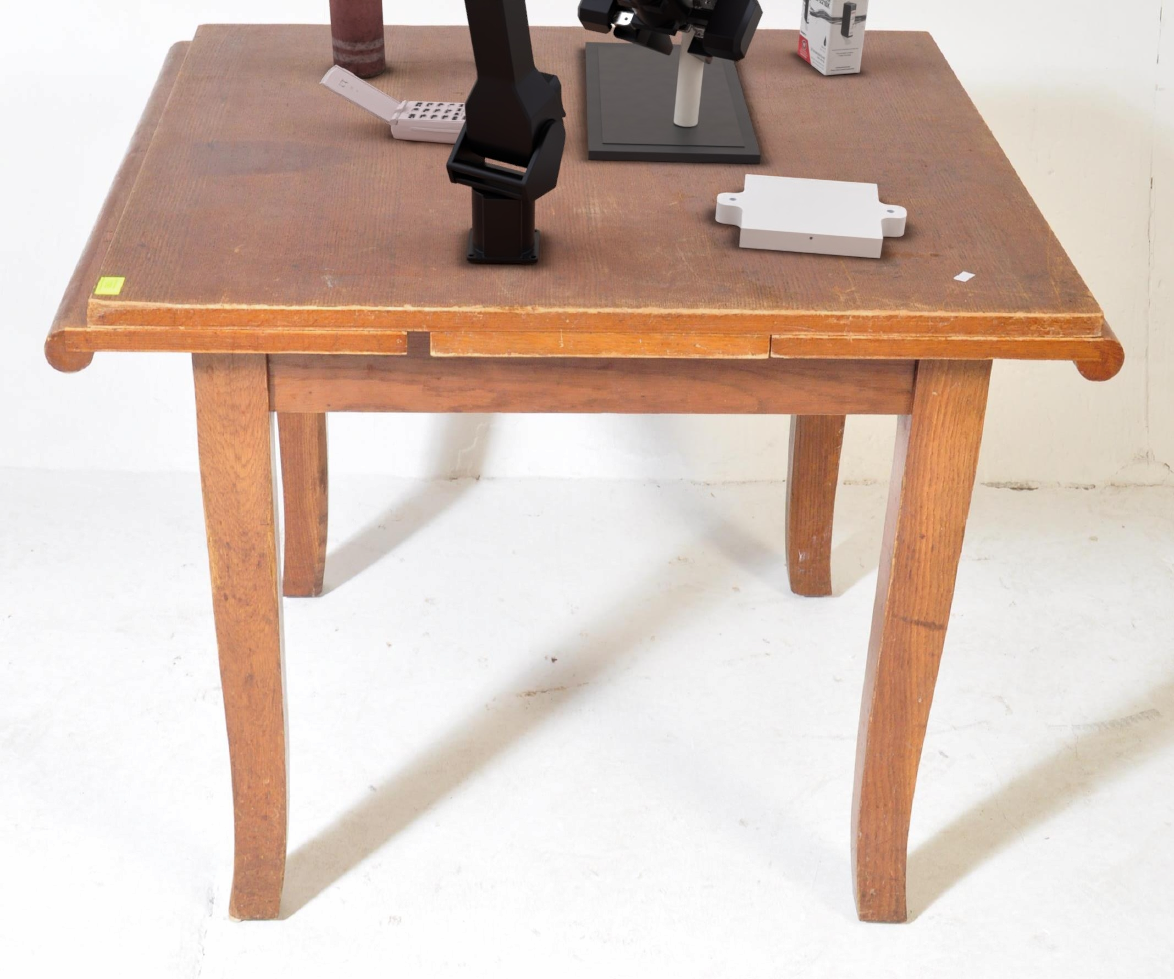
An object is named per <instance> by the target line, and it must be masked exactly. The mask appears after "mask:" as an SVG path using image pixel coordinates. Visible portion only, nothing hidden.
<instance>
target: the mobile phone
mask: <svg viewBox="0 0 1174 979" xmlns="http://www.w3.org/2000/svg"><path fill="white" fill-rule="evenodd" d="M318 85H320V86H322V87H324V88H325V89H327V90H329V91H331V92H332V93H334V94H336V95H337V96H339V97H341V98H342V99H344V100H346V101H347V102H349V103H351V104H353V105H354V106H356V107H358V108H359V109H361V110H363V111H364V112H366V113H367V114H370V115H372V116H374V117H375V118H376V119H379V120H380V121H382V122H383V123H386V124H387V125H389V126H390V132H391V134H392V137H393V139H396V140H405V141H415V142H416V141H417V142H427V143H429V142H430V143H439V144H440V143H441V144H454V145H455V143H456V140H457V138H458V136H459V134H460V131H461V129H462V127H463V125H464V122H465V120H466V119H465V102H448V101H447V102H445V101H443V102H442V101H422V100H421V101H419V100H418V101H417V100H407V99H404V100H402V101H401V102H400V101H398V100H397V99H395V98H393V97H391V96H390V95H388V94H387V93H385V92H383V91H382V90H380V89H379V88H378V87H375V86H373V85H372V84H370V83H368V82H367V81H365V80H364V79H363V78H358V77H357V76H355V75H354V74H353V73H351V72H349V71H348V70H346V69H344V68H341V67H339V66H338V65H335V66H334V65H333V66H332V67H331V68H329V69H328V71H327V72H326V73H325V74H324V75H323V77H322V78H321V79H320V81H319V83H318Z"/></svg>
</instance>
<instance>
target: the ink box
mask: <svg viewBox="0 0 1174 979" xmlns="http://www.w3.org/2000/svg"><path fill="white" fill-rule="evenodd" d="M869 2H870V1H869V0H802V5H801V15H800V26H799V36H798V44H797V55H798V56H799V57H801V58H802V59H803V60H804V61H805V62H807V63H808V64H809V65H811V67H813V68H815V69H816V70H817V71H819V72H820V73H821V74H822V75H823V76H834V75H844V74H858V73H860V71H861V64H862V58H863V56H862V55H863V50H864V40H865V31H866V25H867V24H866V23H867V16H868V15H867V14H868V8H869Z"/></svg>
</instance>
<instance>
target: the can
mask: <svg viewBox="0 0 1174 979" xmlns="http://www.w3.org/2000/svg"><path fill="white" fill-rule="evenodd" d="M328 6H329V19H330V35H331V45H332V46H331V47H332V48H331V49H332V60H333V66H335V65H338V66H339V67H341V68H344V69H346V70H348V71H349V72H351V73H353V74H354V75H355V76H357V77H358V78H360V79H368V78H373V77H377V76H379V75H381V74H382V73H383V72H384V70H385V68H386V67H387V66H386V64H387V63H386V48H385V47H386V46H385V30H384V29H385V28H384V9H383V0H328Z"/></svg>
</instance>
